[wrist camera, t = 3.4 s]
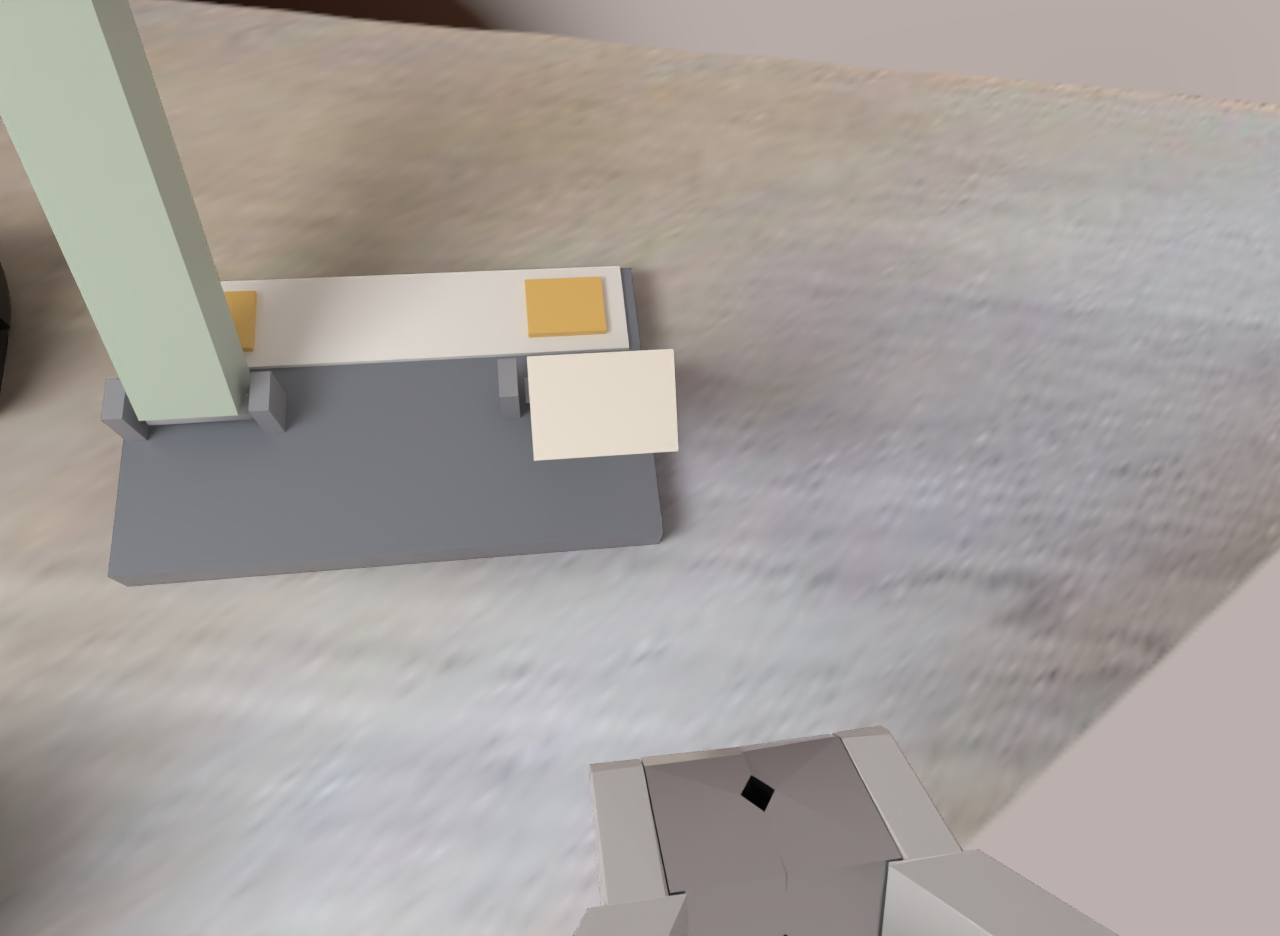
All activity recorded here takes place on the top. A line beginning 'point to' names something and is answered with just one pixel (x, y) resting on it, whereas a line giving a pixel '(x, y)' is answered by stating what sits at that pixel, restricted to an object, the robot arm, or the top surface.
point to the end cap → (4, 320)
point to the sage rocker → (121, 205)
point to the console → (383, 432)
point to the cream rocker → (602, 404)
